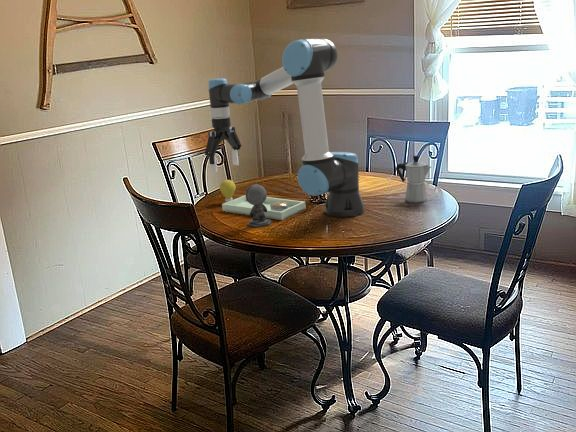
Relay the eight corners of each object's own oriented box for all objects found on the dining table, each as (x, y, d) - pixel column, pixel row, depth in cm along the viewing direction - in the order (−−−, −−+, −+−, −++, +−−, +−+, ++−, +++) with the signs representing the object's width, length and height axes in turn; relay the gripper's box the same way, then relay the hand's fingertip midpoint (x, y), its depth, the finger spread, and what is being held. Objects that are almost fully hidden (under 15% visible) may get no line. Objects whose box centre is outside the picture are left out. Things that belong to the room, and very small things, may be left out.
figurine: (257, 218, 223) (254, 180, 219) (277, 222, 217) (274, 183, 213) (241, 225, 217) (238, 185, 213) (261, 229, 211) (258, 188, 207)
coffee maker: (435, 198, 234) (435, 154, 229) (427, 204, 227) (427, 158, 222) (400, 195, 242) (400, 152, 237) (391, 200, 235) (391, 156, 230)
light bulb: (234, 204, 245) (232, 181, 242) (219, 205, 246) (216, 182, 243) (238, 200, 251) (236, 178, 248) (224, 200, 252) (221, 178, 249)
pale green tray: (305, 209, 232) (305, 201, 231) (282, 220, 219) (281, 212, 219) (247, 201, 249) (246, 194, 248) (222, 211, 237) (221, 204, 236)
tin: (291, 209, 230) (291, 202, 229) (281, 213, 225) (281, 207, 224) (277, 207, 234) (277, 200, 233) (267, 211, 229) (266, 205, 228)
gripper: (233, 112, 250) (237, 161, 256) (192, 121, 231) (198, 173, 237) (247, 113, 245) (250, 162, 252) (206, 122, 226) (211, 175, 233)
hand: (225, 168), depth 244 cm, fingers open, 13 cm apart
